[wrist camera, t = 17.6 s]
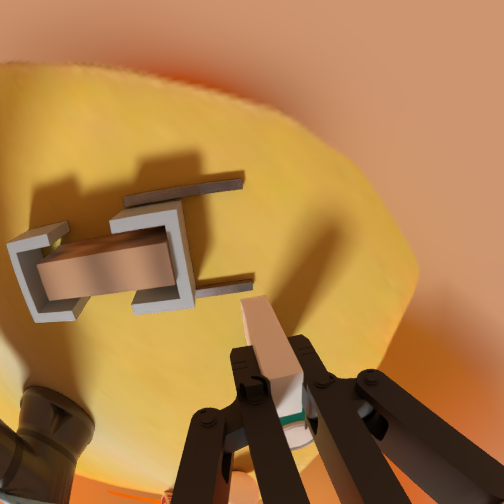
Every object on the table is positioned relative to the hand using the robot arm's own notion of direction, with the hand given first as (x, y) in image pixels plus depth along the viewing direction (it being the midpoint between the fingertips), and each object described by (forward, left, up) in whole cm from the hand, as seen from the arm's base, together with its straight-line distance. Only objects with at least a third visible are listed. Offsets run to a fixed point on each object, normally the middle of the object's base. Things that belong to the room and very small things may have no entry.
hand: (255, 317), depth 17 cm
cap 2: (-8, 0, -15) cm, 17 cm away
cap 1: (-20, 0, -15) cm, 25 cm away
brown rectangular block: (-13, 0, -15) cm, 20 cm away
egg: (-6, -53, -15) cm, 55 cm away
